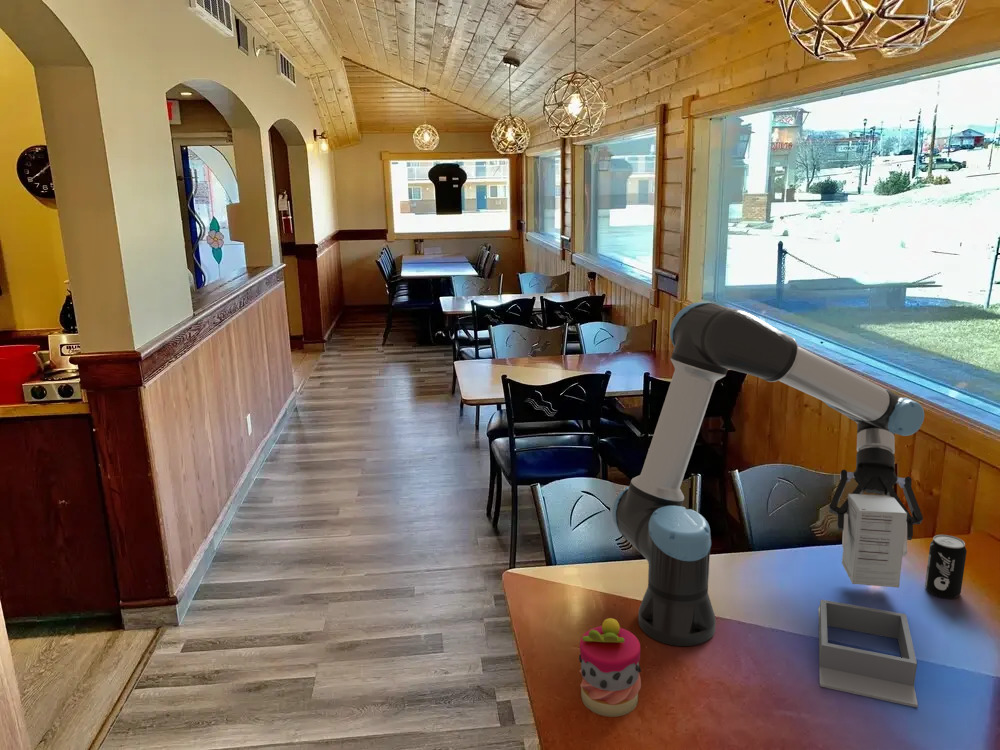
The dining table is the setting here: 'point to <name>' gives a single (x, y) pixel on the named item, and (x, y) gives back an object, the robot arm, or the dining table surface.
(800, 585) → the dining table surface
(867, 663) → the grey open box
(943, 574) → the beverage can
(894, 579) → the supplement box
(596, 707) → the cake
